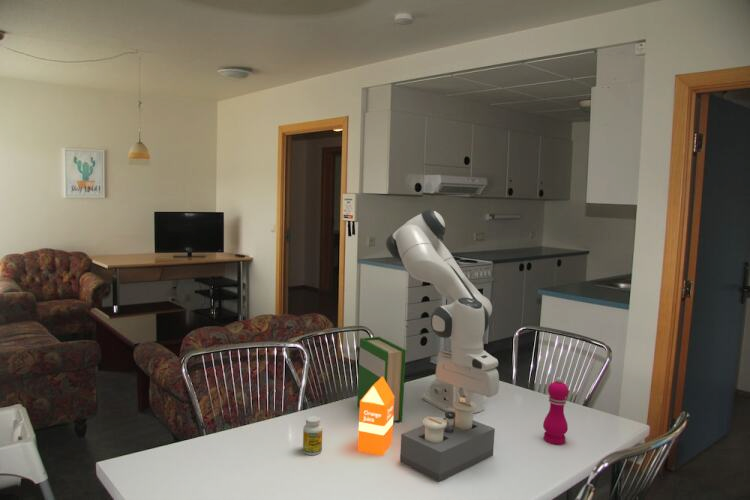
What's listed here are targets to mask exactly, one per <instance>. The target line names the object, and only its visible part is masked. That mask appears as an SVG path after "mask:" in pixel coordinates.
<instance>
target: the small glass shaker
mask: <svg viewBox="0 0 750 500" xmlns="http://www.w3.org/2000/svg"><path fill="white" fill-rule="evenodd" d="M455 415H456V414H455V412H451V411H447V412H446V411H444V418H445V417H446V419H445V420H446V422H447V426H446V428H445V432H447V433H453V430H454V418H455Z"/></svg>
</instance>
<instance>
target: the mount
mask: <svg viewBox="0 0 750 500" xmlns="http://www.w3.org/2000/svg"><path fill="white" fill-rule="evenodd" d="M442 419H444V420H445V419H446V417H445V416H444V417H443V418H442ZM454 426H455V418H454ZM495 431H496V429H495V428H494V427H491V426H489V425H486V424H485V423H481V422H479V421H476V420H474V419H473V421H472V429H470V430H468V431H466V432H465V431H463V430H460V429H458V428H455V427H454V430H453V433H447V432H445V429H444V433H443V441H442V442H439V443H437V444H434V443H431V442H429V441H427V440H425V427H424V426H423V425H421V426H419V427H416V428H413V429H411V430H408V431H405V432H403V433H401V435H400V438H401V439H400V451H399V452H400V454H399V462H400V463H401V464H403V465H405V466H407V467H408V468H411V469H413V470H415V471H417V472H419V473H421V474H423V475H424V476H427V477H428V478H430V479H432V480H434V481H436V482H438V483H440V482H442V481H444V480H446V479H448V478H450V477H453V476H455V475H456V474H459V473H460V472H462V471H465V470H466V469H469V468H471V467H472V466H474V465H476V464H478V463H479V464H480V462H481V463H482V461H485V460H487V459H488V458H490V457H493V456H494V446H495V435H496V434H495V433H496V432H495Z"/></svg>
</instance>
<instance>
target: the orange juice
mask: <svg viewBox="0 0 750 500" xmlns="http://www.w3.org/2000/svg"><path fill="white" fill-rule="evenodd" d="M393 411H394V395H393V393H392V392H391V390H390V388H389V386H388V385H387V383H386V381H385V379H384V378H383V376H382V377H381V378H380V379H379V380H378V381H377V382H376V383H375V384H374V385H373V386H372V387H371V388H370V390H369V391H368V392H367V393H366V395H365V396H364V397H363V398H362V400H361V401H360V408H359V414H358V415H359V416H358V417H359V418H358V437H357V438H358V441H357V442H358V443H357V451H358V452H362V453H367V454H372V455H377V456H384V455H385V453H386V452H387V450H388V449H389V448H390V447H391V445H392V444H393V429H394V428H393V427H394V421H393Z"/></svg>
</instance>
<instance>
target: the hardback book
mask: <svg viewBox="0 0 750 500" xmlns="http://www.w3.org/2000/svg"><path fill="white" fill-rule="evenodd" d="M406 354H407V350H406V349H405V348H403V347H401V346H399V345H397V344H394V343H392V342H390V341H388V340H387V339H385V338H383V337H381V336H374V337H373V336H372V337H371V336H370V337H362V338H361V337H360V338H359V353H358V355H359V357H358V358H359V359H358V378H357V380H358V381H357V382H358V383H357V399H356V400H357V401H356V402H357V403H356V407H358V409H360V401H361V400H362V398H363V397H364V396H365V395H366V393H367V392H368V391H369V390H370V388H371V387H372V386H373V385H374V384H375V383H376V382H377V381H378V380H379V379H380V378H381V377H382V376H383V378H384V379H385V381H386V383H387V385H388V386H389V388H390V390H391V392H392V393H393V395H394V411H393V422H395V421H397V422H398V424H399V423H403V413H404V409H403V408H404V393H405V374H406V372H405V371H406Z"/></svg>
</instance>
